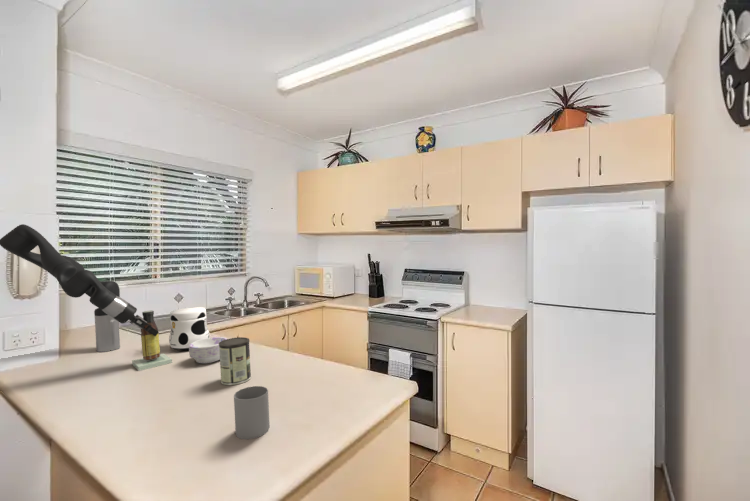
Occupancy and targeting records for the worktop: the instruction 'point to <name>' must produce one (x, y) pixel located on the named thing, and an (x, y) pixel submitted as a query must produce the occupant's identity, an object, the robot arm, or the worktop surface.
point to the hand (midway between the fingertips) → (154, 332)
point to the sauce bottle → (150, 338)
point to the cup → (251, 412)
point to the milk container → (187, 327)
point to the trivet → (151, 362)
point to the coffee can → (235, 361)
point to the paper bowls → (206, 350)
